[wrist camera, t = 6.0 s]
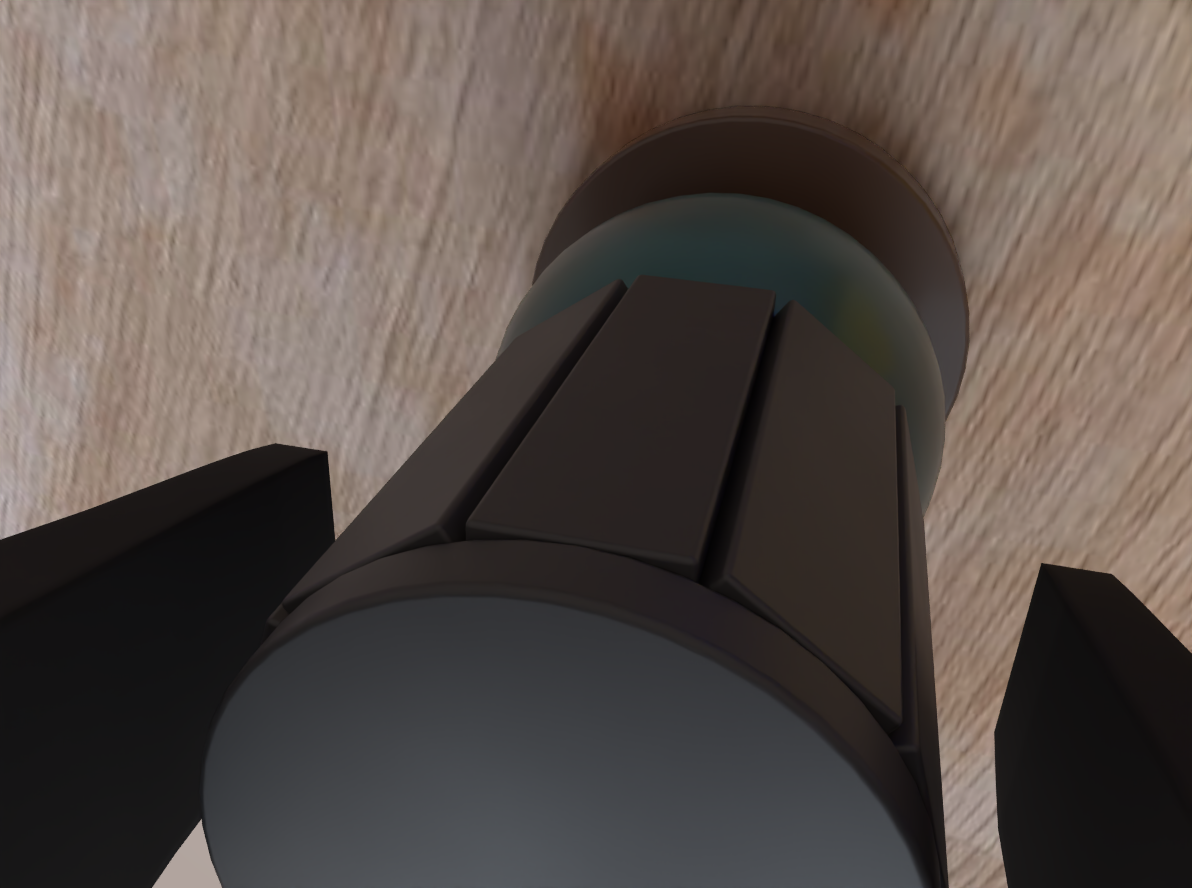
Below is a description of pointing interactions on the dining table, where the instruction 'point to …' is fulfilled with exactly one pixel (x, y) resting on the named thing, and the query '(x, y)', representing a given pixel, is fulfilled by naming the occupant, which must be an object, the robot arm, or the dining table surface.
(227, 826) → the black cap
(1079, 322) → the dining table surface
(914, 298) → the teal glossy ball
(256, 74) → the dining table surface
